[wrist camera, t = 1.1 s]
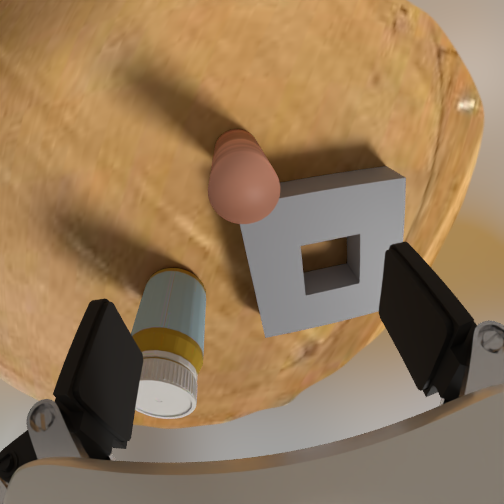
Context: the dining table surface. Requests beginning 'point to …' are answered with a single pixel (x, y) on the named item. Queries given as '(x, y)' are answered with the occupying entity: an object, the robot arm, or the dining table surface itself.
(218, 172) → the peg
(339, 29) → the dining table surface
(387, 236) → the socket block
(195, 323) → the bottle
